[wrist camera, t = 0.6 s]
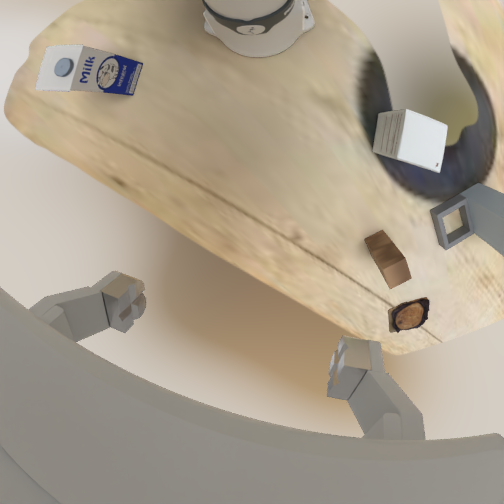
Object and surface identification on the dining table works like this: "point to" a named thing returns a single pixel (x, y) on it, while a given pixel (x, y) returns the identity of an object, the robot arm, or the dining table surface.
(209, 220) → the dining table surface
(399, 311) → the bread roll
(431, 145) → the supplement box
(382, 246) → the walnut block
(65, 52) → the milk carton
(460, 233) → the pale blue tower
